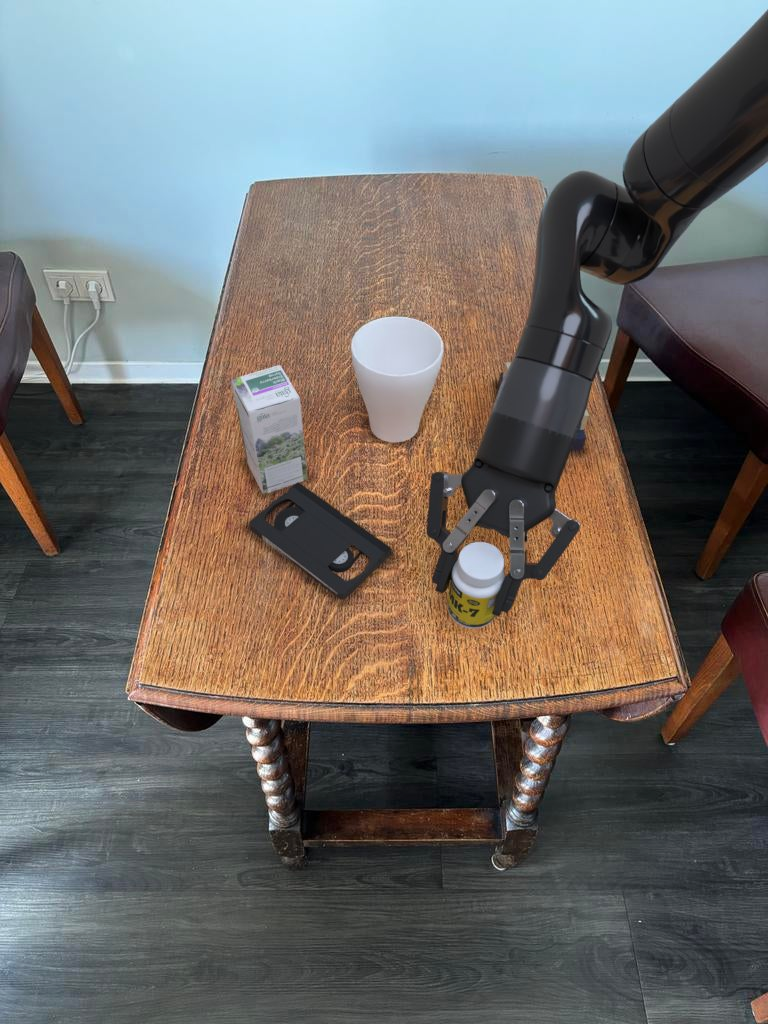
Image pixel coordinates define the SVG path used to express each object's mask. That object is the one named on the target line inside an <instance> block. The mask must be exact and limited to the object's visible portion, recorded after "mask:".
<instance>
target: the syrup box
mask: <svg viewBox="0 0 768 1024" xmlns="http://www.w3.org/2000/svg"><path fill="white" fill-rule="evenodd" d="M230 381H231V388H232V392H233V393H232V394H233V397H234V402H235V407H236V412H237V417H238V422H239V427H240V433H241V437H242V443H243V449H244V455H245V458H246V463H247V466H248V468H249V470H250V472H251V474H252V476H253V478H254V479H255V481H256V484H257V486H258V488H259V490H260V491H261V493H262V494H263V495H268V494H270V493H273V492H276V491H278V490H282V489H285V488H288V487H290V486H294V485H295V484H296V483H297V482H299V483H302V482H304V481H307V480H308V472H307V471H308V470H307V459H306V458H307V457H306V449H305V438H304V427H303V414H302V405H301V403H302V402H301V397H300V396H299V393H298V392H297V390H296V389H295V387H294V386H293V384H292V383H291V380H290V379H289V377H288V376H287V373H286V372H285V370H284V368H283V367H282V366H281V364H277V365H275V366H271V367H268V368H264V369H261V370H257V371H255V372H251V373H248V374H247V373H246V374H244V375H241V376H237V377H234V378H231V380H230Z"/></svg>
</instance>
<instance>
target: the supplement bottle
mask: <svg viewBox="0 0 768 1024" xmlns="http://www.w3.org/2000/svg"><path fill="white" fill-rule="evenodd" d="M459 553H460V554H459V558H458V560H457V561H456V562H455V564H454V566H453V569H452V574H451V580H450V583H449V587H448V588H449V589H448V595H447V601H446V606H447V611H448V612H447V613H448V614H449V616H450V618H451V619H452V620H453V621H454V622H455V623H456V624H457V625H459V626H461V627H463V628H466V629H471V630H478V629H482V628H485V627H487V626H488V625H490V624H491V623H492V622H493V621H494V619H495V618H496V616H495V615H493V614H492V611H493V609H494V606H495V603H496V600H497V598H498V595H499V592H500V590H501V587H502V584H503V581H504V579H505V576H506V573H505V570H504V568H505V559H504V556H503V553H502V551H501V550H500V549H499V548H498V547H496V546H495V545H493V544H491V543H489V542H485V541H474V542H471V543H468V544H467V545H465V546H464V547H463V548H462V549H461V550H460V551H459Z"/></svg>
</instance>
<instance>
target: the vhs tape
mask: <svg viewBox="0 0 768 1024" xmlns="http://www.w3.org/2000/svg"><path fill="white" fill-rule="evenodd" d="M286 500H290V501H291V502H290V503H289V504H288V505H286V506H285V507H284V508H283V509H282V510H281V511H279V512H278V513H277V514H276V516H275V517H274V519H273V525H272V524H271V523H269V522H268V521H267V520H266V519H265V518H266V516H267V515H268V514H270V513H271V512H272V511H273V510H275V508H277V507H278V506H279V505H280V504H282V503H283V502H284V501H286ZM249 528H250V531H251V532H252V533H253V534H254V535H256V536H257V537H259V538H260V539H261V540H263V541H264V542H265V543H266V544H267V545H269V546H270V547H272V548H273V549H274V550H275V551H277V552H278V553H279V554H281V556H283V557H285V559H287V560H288V561H290V562H291V563H292V564H294V565H295V567H297V568H299V569H300V570H301V571H303V573H305V574H306V575H308V576H309V577H310V578H311V579H313V580H314V581H315V582H317V583H318V584H319V585H321V587H323V588H325V589H326V590H327V591H329V593H331V594H332V595H333V596H335V597H336V598H338V599H339V600H341V601H343V600H346V599H347V598H348V597H349V596H350V595H351V594H352V593H353V592H354V591H355V590H356V589H357V588H358V587H359V586H360V585H361V584H362V583H363V582H364V581H365V580H366V579H368V578H369V577H370V575H372V574H373V573H374V572H375V571H376V570H377V569H378V568H379V567H380V566H381V565H382V564H383V563H384V562H385V561H386V560H387V559H389V557H391V555H392V547H390V546H389V545H387V544H386V543H384V542H383V541H382V540H380V538H378V537H376V536H375V535H373V534H372V533H371V532H369V531H368V530H366V529H365V528H364V527H362V526H360V525H359V524H358V523H357V522H355V521H354V520H352V519H351V518H349V517H348V516H347V515H344V514H343V513H341V511H339V510H338V509H336V508H335V507H334V506H332V505H331V504H330V503H328V502H327V501H325V500H324V499H323V498H321V497H320V496H318V495H317V494H316V493H314V492H312V491H311V490H310V489H308V488H307V487H306V486H304V485H303V484H301V482H297V483H296V484H293V485H291V487H290V488H289V489H288V490H287V491H286V492H284V493H283V494H281V495H280V496H279V497H278V498H277V499H276V500H274V501H273V502H272V503H270V504H269V505H268V506H267V507H265V508H264V509H263V510H262V511H261V512H260V513H258V514H257V515H255V516H254V517H253V518H252V519H251V520H250V521H249ZM351 546H353V547H355V548H356V549H357V550H358V553H357V554H356V555H355V557H354V552H353V551H352V549H351V548H350V547H351ZM362 554H364V555H365V556H367V557H368V558H369V562H368V564H367V566H366V567H365V569H364V570H363V571H362V572H360V573H359V574H358V575H356V576H355V577H353V578H350V579H347V580H346V579H344V578H342V577H341V576H340V575H338V574H337V573H345V572H347V571H349V570H350V569H352V568H353V565H354V564H355V563H356V561H357V560H358V559H359V557H360V556H361V555H362Z"/></svg>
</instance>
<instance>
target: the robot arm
mask: <svg viewBox="0 0 768 1024" xmlns="http://www.w3.org/2000/svg"><path fill="white" fill-rule="evenodd" d="M767 163H768V9H767V10H765V11H764V13H763V14H761V16H760V17H759V18H758V19H757V20H756V21H755V22H754V23H753V25H751V26H750V28H748V30H746V31H745V33H744V34H742V36H741V37H740V38H739V39H738V40H736V42H735V43H734V44H733V45H732V46H730V47H729V48H728V49H727V51H726V52H725V53H724V54H723V55H722V56H721V57H719V58H718V60H717V61H715V62H714V63H713V64H712V65H711V66H710V67H709V68H708V69H707V70H706V71H705V72H704V73H703V74H702V75H701V76H700V77H699V78H698V79H697V80H695V81H694V83H693V84H691V85H690V86H689V87H688V88H687V89H686V90H685V91H684V92H683V93H681V95H680V96H679V97H678V98H677V99H676V100H675V101H674V102H672V104H670V105H669V107H668V108H667V109H665V111H663V112H662V113H661V114H660V115H659V116H658V117H657V118H656V119H655V120H653V122H652V123H651V124H650V125H649V126H648V127H646V129H645V130H644V131H642V133H641V134H640V135H639V136H638V137H637V138H636V140H634V142H633V143H632V144H631V145H630V147H629V149H628V150H627V151H626V154H625V157H624V160H623V164H622V181H623V185H622V184H620V183H617V182H615V181H613V180H612V179H609V178H607V177H605V176H602V175H601V174H598V173H597V172H593V171H590V170H576V171H573V172H571V173H569V174H568V175H566V176H564V177H563V178H562V179H560V180H559V181H558V182H557V183H556V185H555V186H554V187H552V189H551V191H550V193H549V194H548V195H547V196H546V199H545V201H544V204H543V206H542V209H541V212H540V215H539V218H538V219H539V220H538V224H537V231H536V241H535V255H534V256H535V257H534V271H533V272H534V273H533V279H532V280H533V281H532V287H531V288H532V290H531V297H530V305H529V310H528V313H527V317H526V320H525V323H524V325H523V328H522V331H521V335H520V337H519V340H518V343H517V346H516V348H515V352H514V354H513V358H512V360H511V361H510V362H511V365H510V367H509V369H508V371H507V372H506V374H505V376H504V378H503V381H502V383H501V385H500V388H498V391H497V394H496V397H495V400H494V403H493V405H492V408H491V411H490V414H489V417H488V420H487V422H486V425H485V429H484V431H483V434H482V437H481V440H480V442H479V445H478V448H477V451H476V453H475V456H474V460H473V462H472V464H471V466H470V467H469V468H468V469H467V470H466V471H465V472H464V473H463V474H457V473H456V474H455V473H449V472H447V471H435V472H433V473H432V474H431V475H430V485H429V486H430V487H429V498H428V499H429V500H428V509H427V522H426V535H427V537H428V538H430V539H433V540H434V541H435V542H436V543H437V544H438V545H439V546H440V554H439V556H438V559H437V562H436V565H435V568H434V571H433V572H432V573H433V574H432V576H431V578H432V579H431V580H432V584H435V585H436V586H435V589H434V591H435V592H437V593H440V594H444V593H446V592H447V590H448V588H449V587H450V581H451V574H452V569H453V566H454V564H455V562H456V561H457V560H458V558H459V554H460V552H459V549H460V548H461V547H462V545H464V543H465V542H466V541H467V539H468V538H469V537H470V536H471V535H472V534H473V532H474V531H475V530H476V529H477V528H478V527H479V528H482V529H486V530H494V531H495V532H496V533H498V534H500V536H504V537H505V538H509V553H510V554H509V557H510V560H509V563H510V564H509V572H508V573H507V574H505V579H504V581H503V584H502V587H501V590H500V592H499V595H498V598H497V600H496V603H495V606H494V609H493V611H492V614H493V615H495V617H498V618H500V617H501V615H502V613H506V614H507V613H508V612H509V611H510V610H512V608H513V606H514V604H515V602H516V599H517V597H518V593H519V591H520V588H521V586H522V584H523V581H524V580H528V579H530V580H532V579H533V580H537V581H542V580H543V581H544V580H545V579H546V577H547V576H548V574H549V573H550V572H551V570H552V569H553V568H554V566H555V564H556V563H557V562H558V561H559V559H560V558H561V556H562V555H563V554H564V552H565V551H566V550H567V548H568V547H569V545H570V544H571V542H572V541H573V540H574V539H575V537H576V535H577V534H578V533H579V531H580V529H581V522H580V521H579V520H578V518H573V517H570V516H569V515H567V513H564V512H562V511H561V510H560V509H558V508H557V502H556V493H557V489H558V486H559V483H560V480H561V478H562V476H563V473H564V471H565V467H566V465H567V462H568V459H569V457H570V454H571V451H572V450H571V449H572V446H573V443H574V441H575V438H576V435H577V434H578V432H579V431H580V428H581V425H582V423H581V422H582V419H583V417H584V414H585V411H586V409H587V407H588V403H589V398H590V395H591V390H592V386H593V383H594V381H595V378H596V375H597V373H598V370H599V368H600V365H601V362H602V360H603V356H604V354H605V351H606V349H607V345H608V343H609V341H610V337H611V335H612V334H611V333H612V331H613V321H612V318H611V316H610V314H609V313H608V312H607V311H605V310H604V308H602V307H600V306H599V304H597V303H596V302H594V301H593V300H592V299H591V298H590V297H589V296H588V295H587V294H586V293H585V292H584V289H583V287H582V280H581V272H583V273H585V274H588V275H590V276H593V277H596V278H597V279H599V280H602V281H603V282H606V283H610V284H613V285H617V286H625V285H631V284H635V283H638V282H641V281H643V280H645V279H646V278H648V277H649V276H650V275H652V274H653V273H654V272H655V271H656V270H657V268H658V267H659V266H660V264H661V263H662V262H663V260H664V259H665V258H666V257H667V255H668V254H669V252H670V251H671V249H672V248H673V247H674V246H675V244H676V243H677V241H679V239H680V238H681V237H682V236H683V234H684V233H685V232H686V231H687V229H689V227H690V226H691V224H692V223H693V222H694V221H695V220H696V218H697V217H698V216H699V215H700V214H701V213H702V212H703V211H704V210H706V208H708V207H709V206H711V205H712V204H714V203H716V201H718V200H719V199H720V198H722V197H723V196H725V194H727V193H729V192H730V191H731V190H733V189H735V187H737V186H738V185H740V184H741V183H742V182H744V181H745V180H747V178H749V177H751V176H752V175H753V174H755V173H756V172H757V171H758V170H760V169H761V168H762V167H763V166H764V165H766V164H767ZM460 487H461V488H462V492H463V496H464V498H465V503H466V507H467V509H468V510H467V512H465V514H464V515H463V516H462V517H461V519H460V520H459V521H458V523H457V524H456V526H455V527H454V529H452V531H450V530H448V528H447V518H448V510H449V509H448V507H449V506H448V505H449V498H452V497H453V496H455V494H456V492H457V489H458V488H460ZM548 519H550V520H551V521H552V524H551V525H552V526H551V528H550V534H551V536H552V537H554V539H553V540H552V542H551V544H550V545H549V547H548V548H547V549H546V551H545V552H544V554H543V555H542V556H541V558H540V559H539V560H538V562H529V561H528V559H529V558H528V553H529V551H528V550H529V531H530V530H532V529H534V528H535V527H536V526H538V525H540V524H541V523H542V522H544V521H546V520H548Z"/></svg>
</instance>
